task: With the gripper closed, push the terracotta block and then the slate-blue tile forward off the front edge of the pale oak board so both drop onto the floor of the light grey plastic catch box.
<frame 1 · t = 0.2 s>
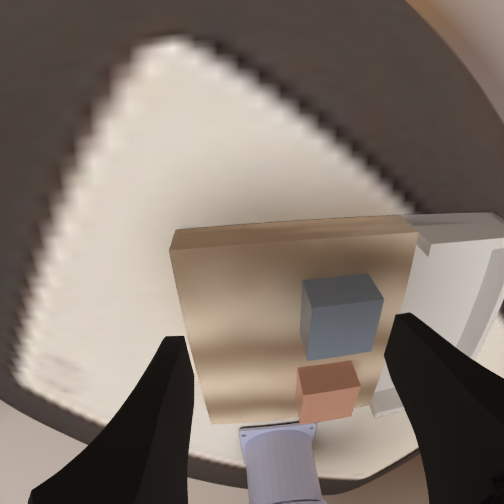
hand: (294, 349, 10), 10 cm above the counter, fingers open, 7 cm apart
oak board: (292, 328, 23), on the counter
terracotta block: (321, 380, 23), point 2 cm above the counter, touching oak board
catch box: (427, 309, 24), on the counter
slate tile: (333, 304, 19), point 2 cm above the counter, touching oak board
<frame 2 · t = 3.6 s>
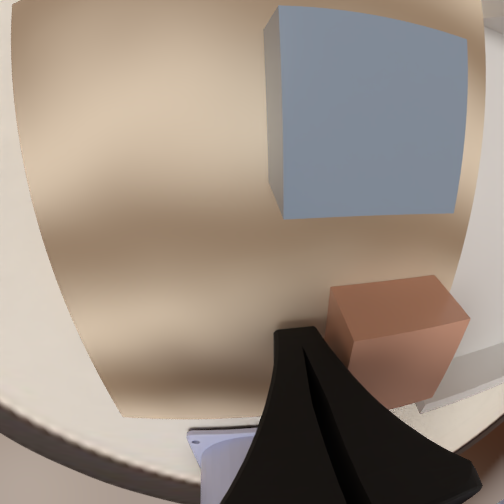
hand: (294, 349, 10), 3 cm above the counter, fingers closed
oak board: (261, 216, 11), on the counter
terracotta block: (376, 325, 11), point 3 cm above the counter, touching gripper
catch box: (499, 209, 12), on the counter
slate tile: (344, 106, 7), point 2 cm above the counter, touching oak board
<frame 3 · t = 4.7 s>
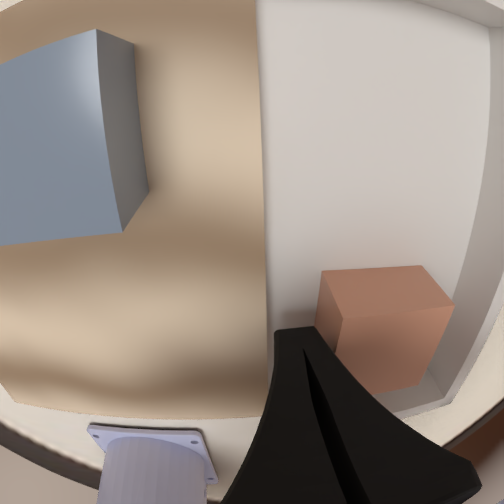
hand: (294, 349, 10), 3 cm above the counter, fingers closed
oak board: (76, 232, 11), on the counter
terracotta block: (365, 312, 12), point 2 cm above the counter, touching gripper
catch box: (375, 210, 12), on the counter
slate tile: (71, 131, 7), point 2 cm above the counter, touching oak board
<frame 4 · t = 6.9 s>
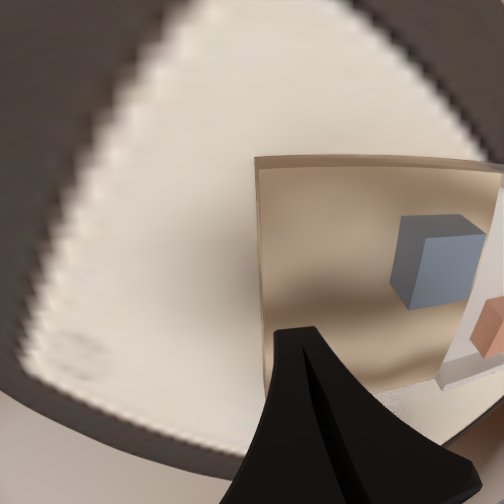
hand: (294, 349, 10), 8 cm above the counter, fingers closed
oak board: (368, 287, 20), on the counter
terracotta block: (493, 315, 21), point 2 cm above the counter, touching catch box
catch box: (491, 269, 20), on the counter
slate tile: (426, 248, 16), point 2 cm above the counter, touching oak board
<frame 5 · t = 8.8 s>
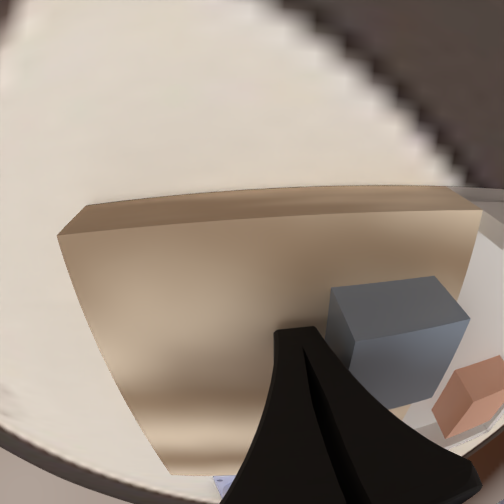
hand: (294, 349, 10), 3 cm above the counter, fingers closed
oak board: (277, 361, 15), on the counter
terracotta block: (466, 383, 16), point 2 cm above the counter, touching catch box
catch box: (468, 327, 16), on the counter
slate tile: (376, 326, 11), point 2 cm above the counter, touching oak board
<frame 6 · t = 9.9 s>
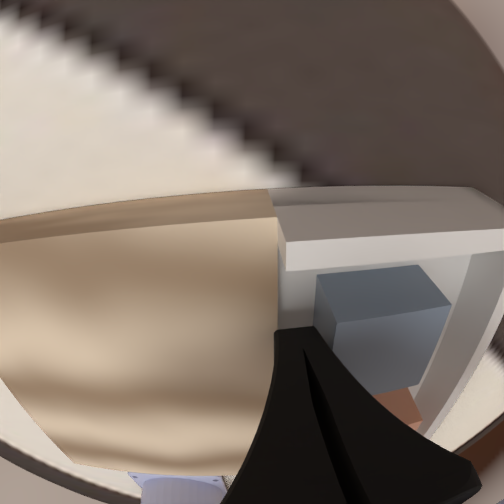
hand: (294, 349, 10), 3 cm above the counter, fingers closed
oak board: (130, 367, 15), on the counter
terracotta block: (363, 412, 16), point 2 cm above the counter, touching catch box
catch box: (358, 350, 15), on the counter
slate tile: (363, 313, 12), point 2 cm above the counter, touching gripper
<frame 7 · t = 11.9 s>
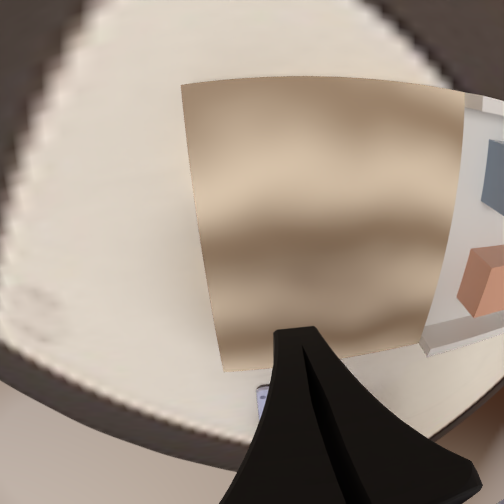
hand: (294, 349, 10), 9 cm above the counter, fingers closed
oak board: (327, 228, 19), on the counter
terracotta block: (482, 270, 19), point 2 cm above the counter, touching catch box
catch box: (475, 217, 19), on the counter
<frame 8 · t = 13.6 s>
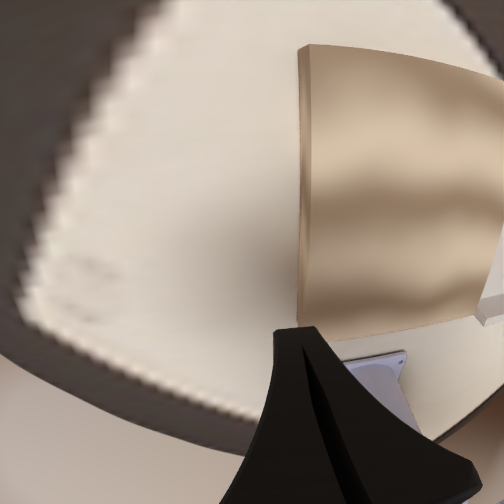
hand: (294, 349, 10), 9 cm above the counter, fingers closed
oak board: (408, 199, 18), on the counter
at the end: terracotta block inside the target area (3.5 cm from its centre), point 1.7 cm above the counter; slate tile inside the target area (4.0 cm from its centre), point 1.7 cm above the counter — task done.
